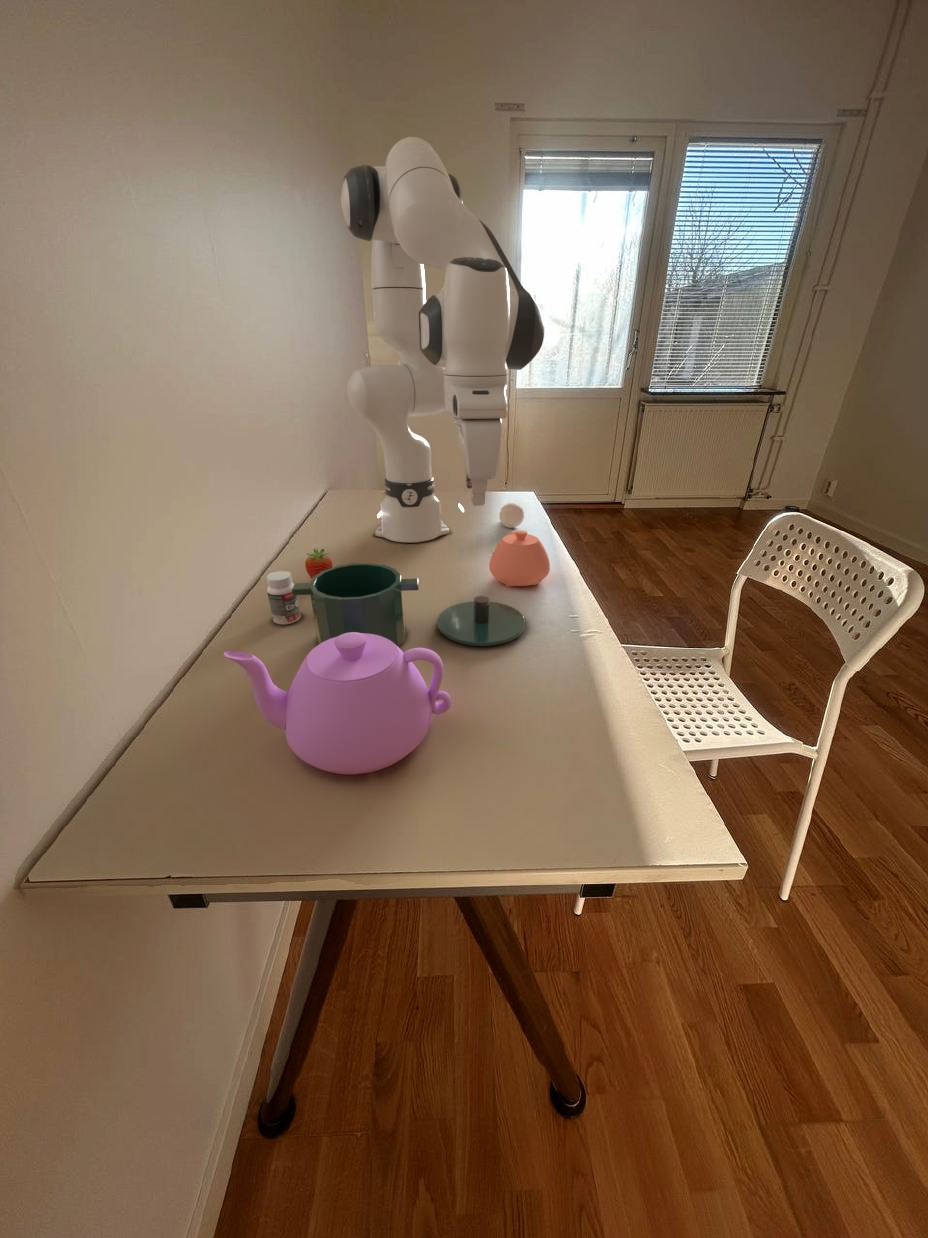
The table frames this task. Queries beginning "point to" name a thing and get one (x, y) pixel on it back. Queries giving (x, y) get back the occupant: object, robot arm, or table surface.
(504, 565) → the sugar bowl
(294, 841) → the table surface
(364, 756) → the teapot
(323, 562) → the fruit
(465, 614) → the lid
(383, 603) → the pot
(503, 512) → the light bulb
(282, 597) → the pill bottle
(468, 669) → the table surface
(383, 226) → the robot arm
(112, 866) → the table surface
